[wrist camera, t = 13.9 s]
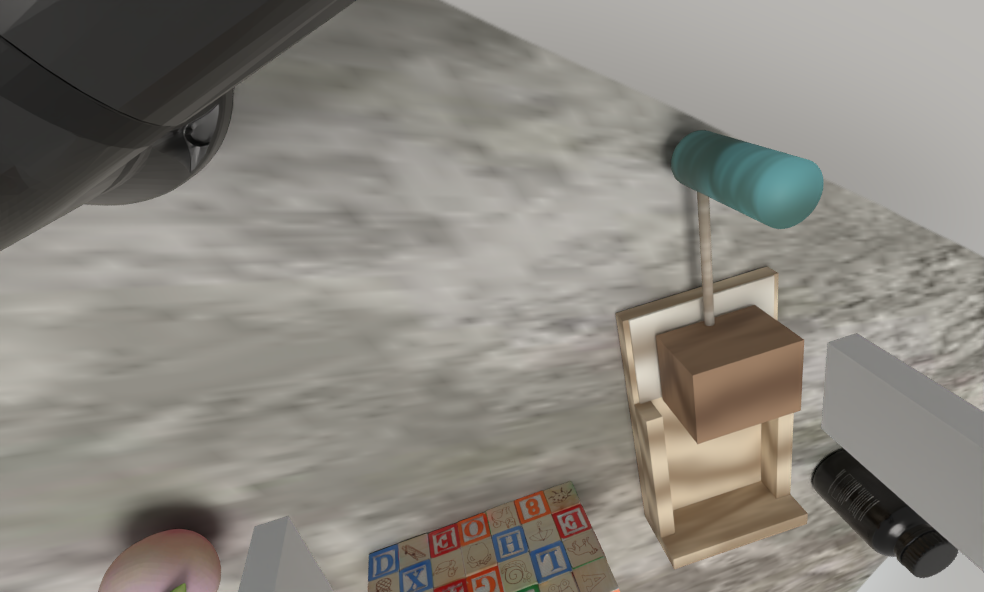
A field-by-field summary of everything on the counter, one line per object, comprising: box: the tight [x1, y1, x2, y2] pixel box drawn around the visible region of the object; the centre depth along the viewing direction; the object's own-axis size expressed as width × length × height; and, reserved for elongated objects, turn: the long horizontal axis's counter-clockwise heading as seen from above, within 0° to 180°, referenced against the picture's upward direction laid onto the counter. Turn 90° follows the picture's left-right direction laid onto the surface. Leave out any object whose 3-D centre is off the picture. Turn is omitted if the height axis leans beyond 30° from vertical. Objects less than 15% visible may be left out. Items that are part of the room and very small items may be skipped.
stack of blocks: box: [368, 481, 620, 592], centre depth 49 cm, size 21×6×12 cm, turn 106°
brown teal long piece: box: [656, 130, 823, 444], centre depth 39 cm, size 23×9×10 cm, turn 13°
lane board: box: [616, 267, 808, 569], centre depth 49 cm, size 26×14×6 cm, turn 13°
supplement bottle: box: [813, 449, 958, 578], centre depth 55 cm, size 7×7×12 cm
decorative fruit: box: [98, 529, 221, 592], centre depth 43 cm, size 9×8×10 cm
